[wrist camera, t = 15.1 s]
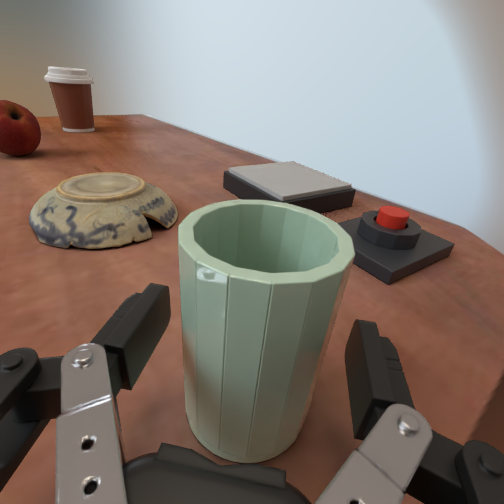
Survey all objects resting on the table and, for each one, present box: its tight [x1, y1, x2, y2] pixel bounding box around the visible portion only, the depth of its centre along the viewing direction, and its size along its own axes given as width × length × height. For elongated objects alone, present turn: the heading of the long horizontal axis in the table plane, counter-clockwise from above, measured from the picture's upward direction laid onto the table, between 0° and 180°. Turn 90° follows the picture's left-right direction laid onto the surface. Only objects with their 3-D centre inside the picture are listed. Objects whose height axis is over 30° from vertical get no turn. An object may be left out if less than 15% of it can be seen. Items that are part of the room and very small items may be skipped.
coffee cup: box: [44, 67, 95, 132], centre depth 67 cm, size 9×9×12 cm
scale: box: [223, 161, 356, 213], centre depth 43 cm, size 13×13×3 cm
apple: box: [0, 100, 41, 156], centre depth 48 cm, size 7×8×8 cm
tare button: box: [376, 206, 409, 230], centre depth 31 cm, size 3×3×2 cm
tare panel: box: [337, 211, 455, 284], centre depth 32 cm, size 11×9×3 cm
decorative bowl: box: [29, 172, 178, 249], centre depth 33 cm, size 15×4×15 cm
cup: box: [178, 200, 355, 463], centre depth 14 cm, size 6×6×10 cm
